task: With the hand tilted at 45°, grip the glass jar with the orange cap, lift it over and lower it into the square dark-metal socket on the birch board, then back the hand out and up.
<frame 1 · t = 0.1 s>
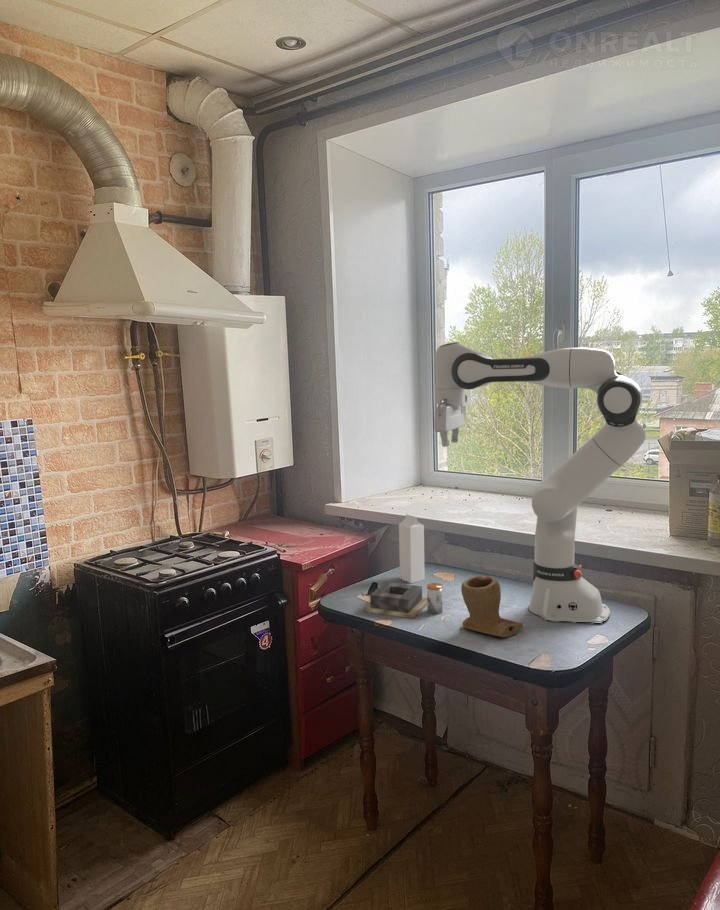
hand: (450, 444, 204), 48 cm above the table, tool pointing down, fingers open, 8 cm apart
socket board: (396, 606, 205), on the table
glass jar: (435, 611, 200), on the table
tan boot-shaped piece: (488, 632, 184), on the table
milk: (412, 579, 229), on the table
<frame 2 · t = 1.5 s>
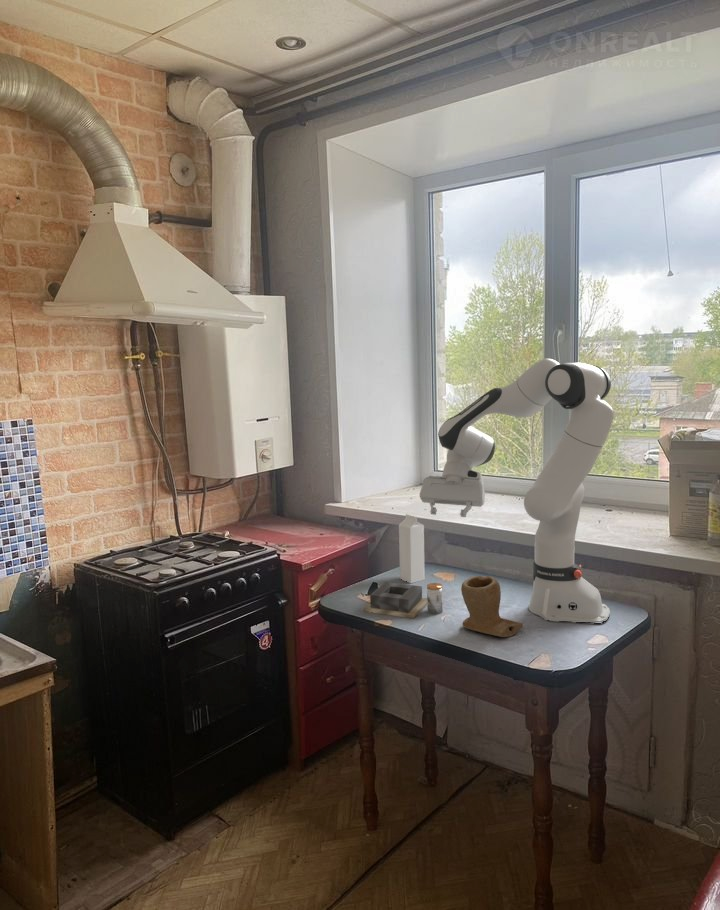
hand: (447, 514, 209), 26 cm above the table, tool tilted 45°, fingers open, 8 cm apart
nothing on the table moved.
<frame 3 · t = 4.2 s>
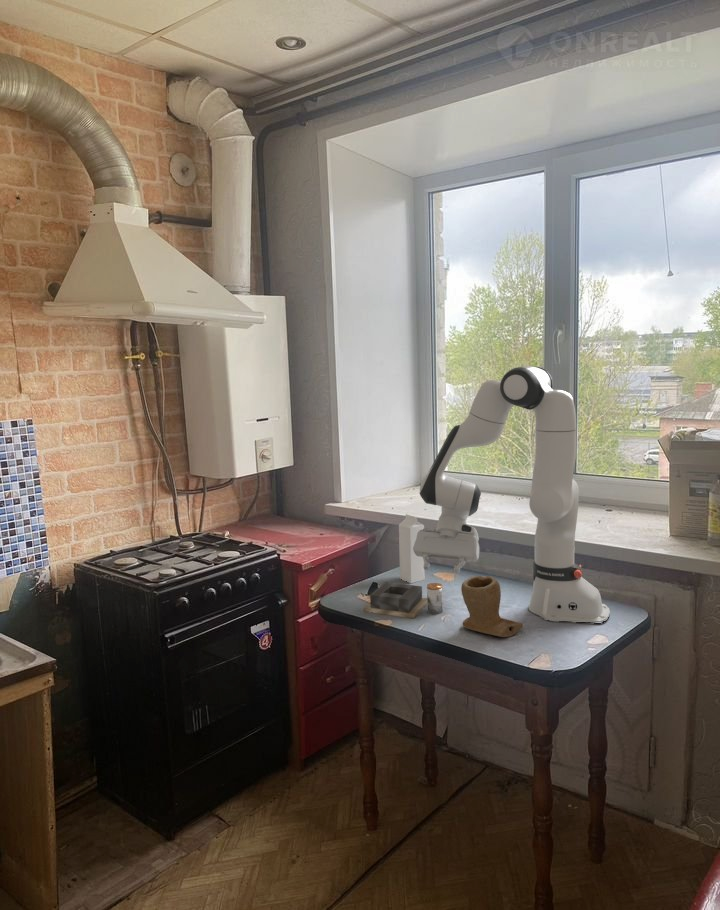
hand: (441, 570, 205), 10 cm above the table, tool tilted 45°, fingers open, 8 cm apart
nothing on the table moved.
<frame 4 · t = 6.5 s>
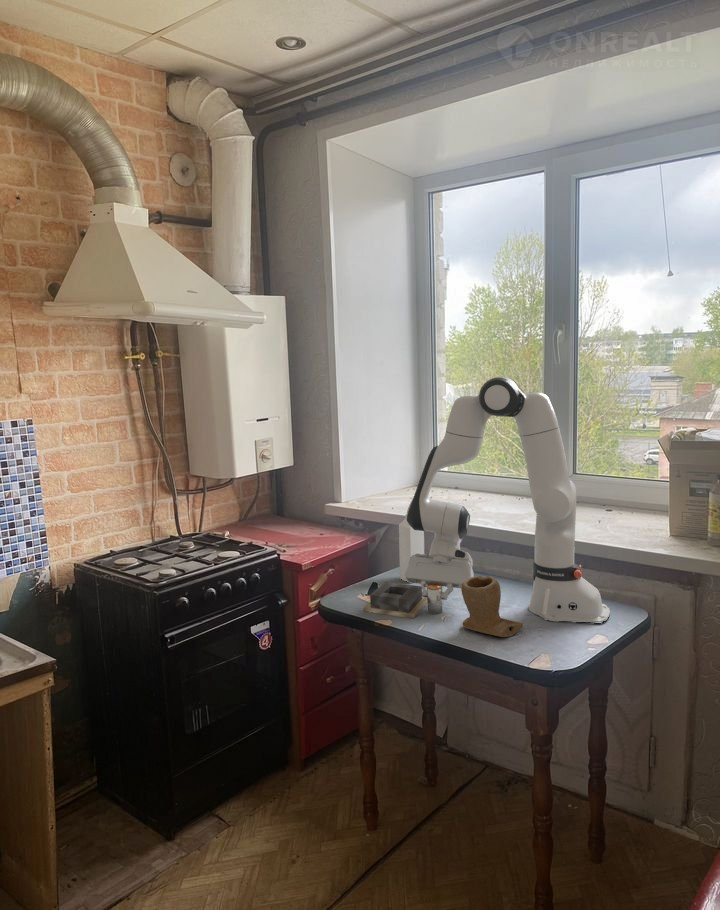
hand: (434, 597, 199), 4 cm above the table, tool tilted 45°, fingers closed on glass jar, 4 cm apart
glass jar: (435, 611, 200), on the table, touching gripper
everything else where it was.
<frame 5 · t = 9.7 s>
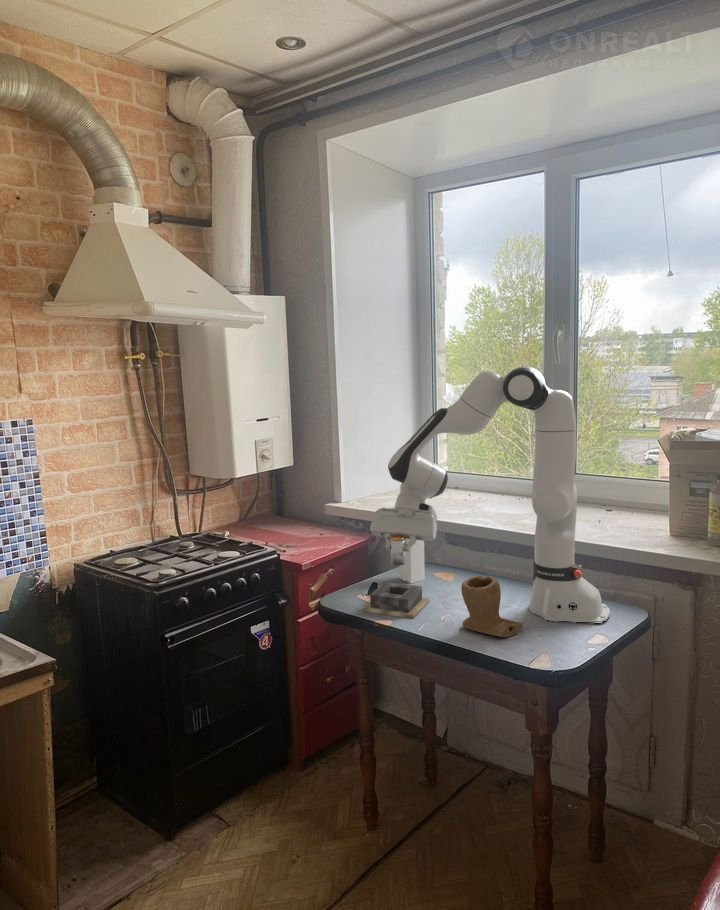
hand: (397, 549, 201), 18 cm above the table, tool tilted 45°, fingers closed on glass jar, 4 cm apart
glass jar: (398, 563, 202), point 14 cm above the table, touching gripper
everything else where it was.
when the fingers open (7 cm above the table, at t = 12.8 s): glass jar drops 1 cm, resting on socket board.
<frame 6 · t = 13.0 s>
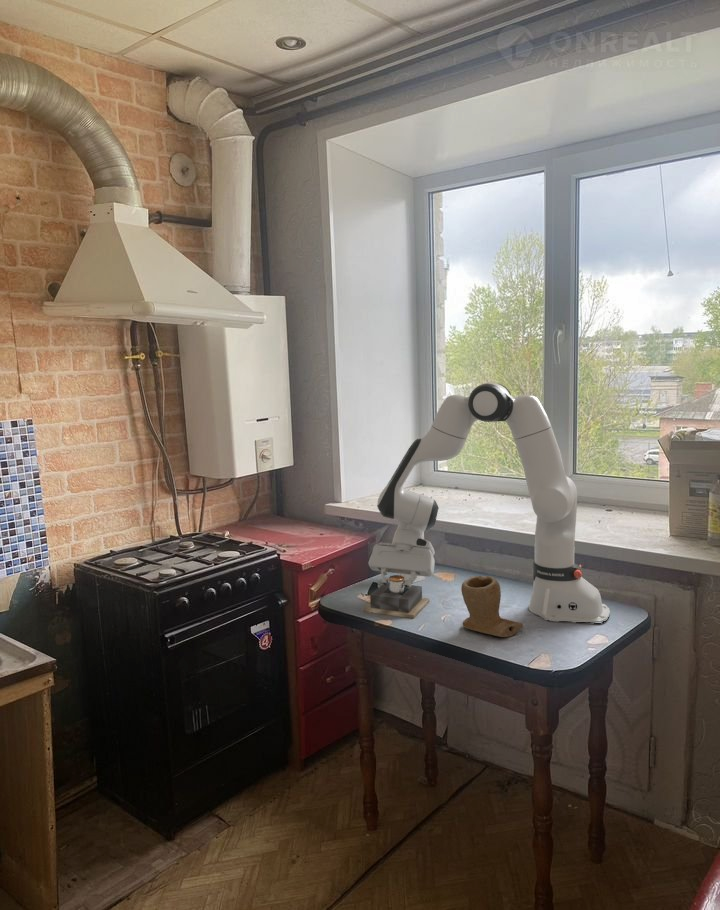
hand: (395, 585, 203), 7 cm above the table, tool tilted 45°, fingers open, 6 cm apart
glass jar: (396, 603, 205), point 1 cm above the table, touching socket board
everything else where it was.
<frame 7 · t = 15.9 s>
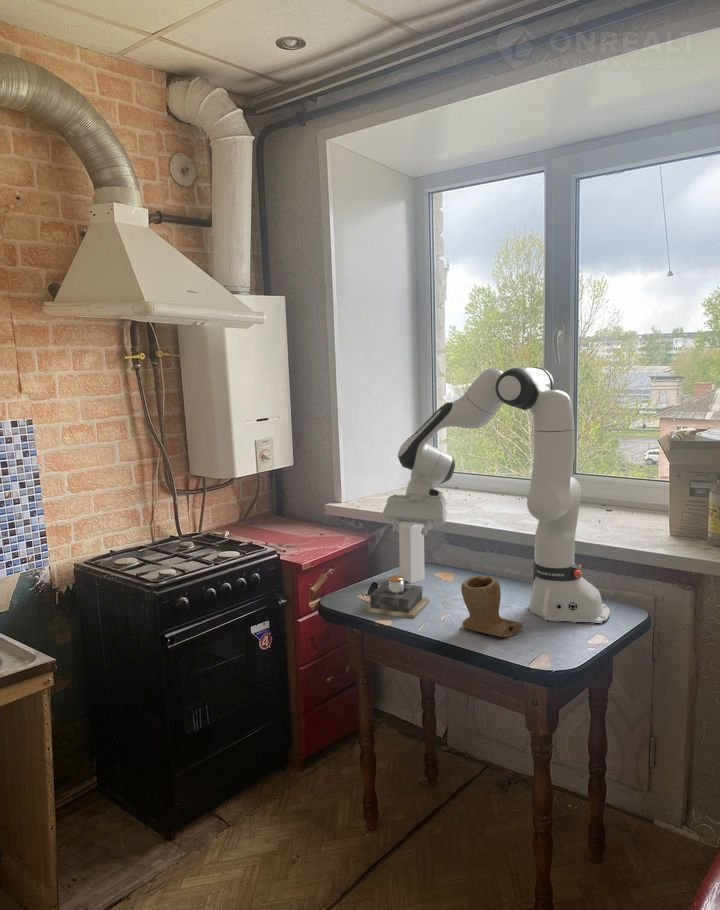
hand: (409, 533, 213), 20 cm above the table, tool tilted 45°, fingers open, 8 cm apart
nothing on the table moved.
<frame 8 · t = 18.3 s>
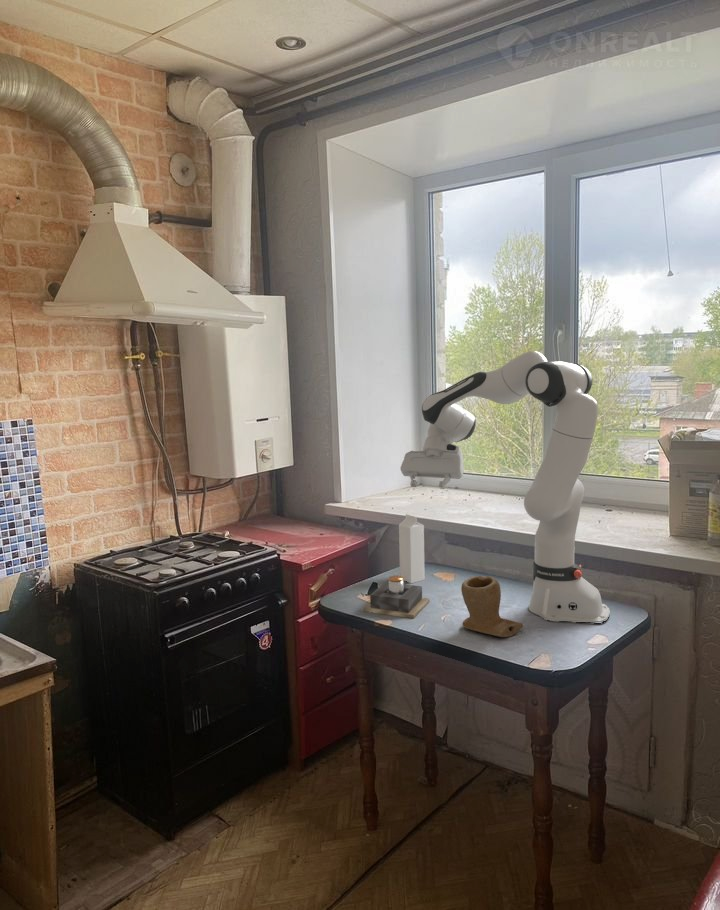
hand: (427, 486, 215), 33 cm above the table, tool tilted 45°, fingers open, 8 cm apart
nothing on the table moved.
at the end: glass jar 0.0 cm off-centre on the socket board, point 1.0 cm above the socket board's base; glass jar tilted 0°; the gripper is holding nothing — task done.
